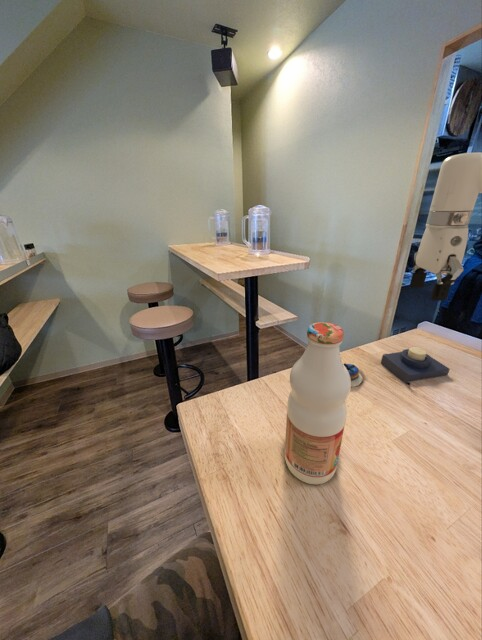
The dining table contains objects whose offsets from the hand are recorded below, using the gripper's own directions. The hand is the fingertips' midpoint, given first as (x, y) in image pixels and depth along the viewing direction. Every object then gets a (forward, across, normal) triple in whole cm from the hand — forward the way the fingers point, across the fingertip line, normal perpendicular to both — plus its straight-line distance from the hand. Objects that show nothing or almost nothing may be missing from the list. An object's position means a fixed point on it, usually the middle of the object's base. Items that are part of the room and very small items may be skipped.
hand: (426, 293), depth 63 cm
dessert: (+23, -6, +18) cm, 29 cm away
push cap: (+18, -2, -1) cm, 18 cm away
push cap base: (+22, -2, -1) cm, 22 cm away
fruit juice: (+23, -32, +31) cm, 50 cm away
